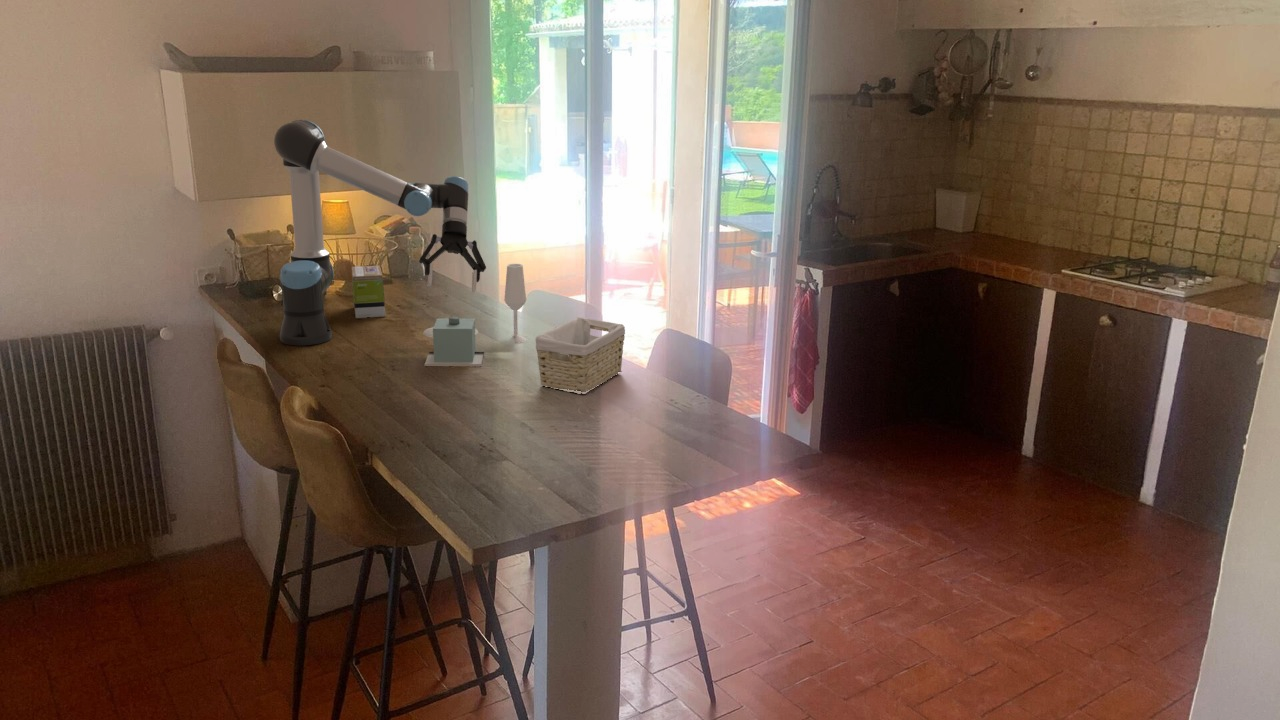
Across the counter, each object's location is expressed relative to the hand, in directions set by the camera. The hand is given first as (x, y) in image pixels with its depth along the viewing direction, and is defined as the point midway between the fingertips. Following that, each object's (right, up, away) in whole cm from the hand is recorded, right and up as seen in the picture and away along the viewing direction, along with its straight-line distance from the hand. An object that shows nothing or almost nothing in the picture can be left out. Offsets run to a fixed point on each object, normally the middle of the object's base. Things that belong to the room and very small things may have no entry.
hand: (451, 288), depth 288 cm
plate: (-3, -14, +12) cm, 19 cm away
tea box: (-35, -6, +36) cm, 51 cm away
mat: (+3, -21, -9) cm, 23 cm away
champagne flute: (+18, -16, +10) cm, 26 cm away
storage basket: (+41, -28, -24) cm, 55 cm away
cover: (+3, -21, -10) cm, 23 cm away
